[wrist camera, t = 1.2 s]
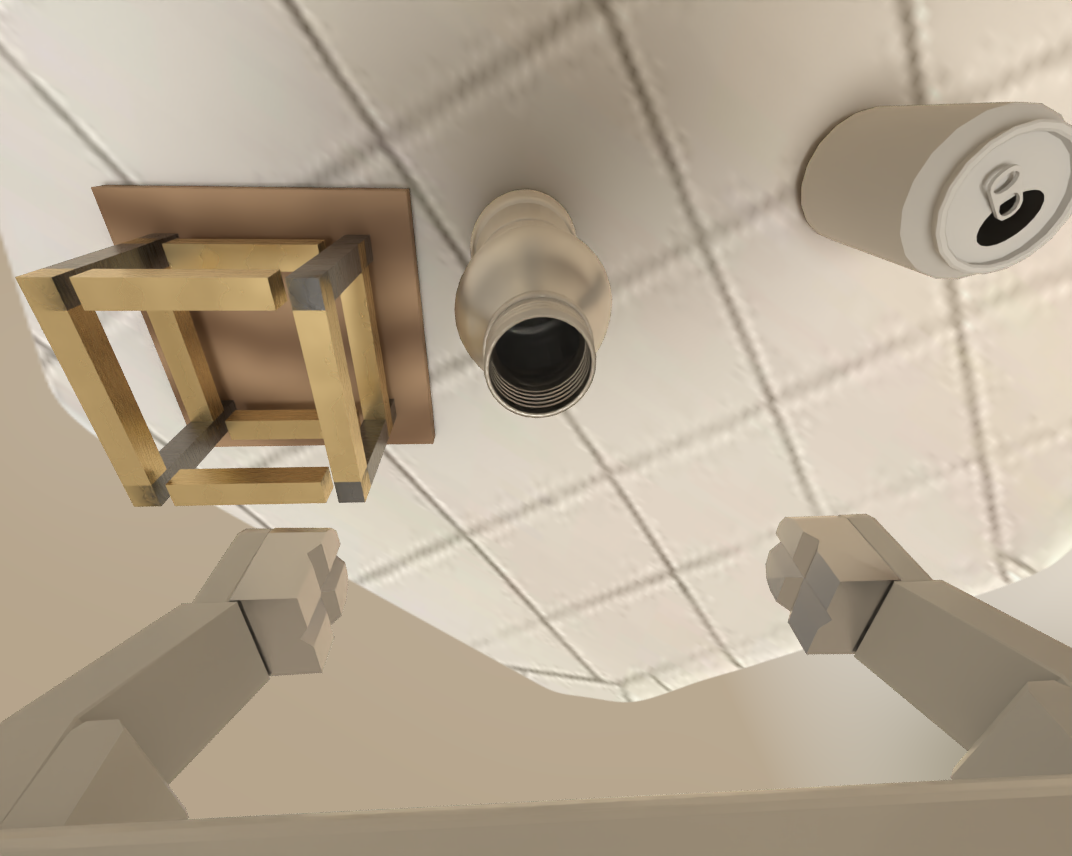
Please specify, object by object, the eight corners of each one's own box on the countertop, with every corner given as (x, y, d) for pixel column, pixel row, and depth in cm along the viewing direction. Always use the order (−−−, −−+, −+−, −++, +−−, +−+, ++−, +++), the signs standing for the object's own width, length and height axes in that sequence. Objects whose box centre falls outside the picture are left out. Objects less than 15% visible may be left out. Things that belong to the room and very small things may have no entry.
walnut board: (105, 185, 30) (90, 187, 29) (409, 188, 31) (406, 190, 30) (203, 438, 40) (195, 446, 38) (435, 435, 40) (433, 443, 39)
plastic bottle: (457, 265, 34) (406, 416, 17) (499, 163, 31) (489, 218, 14) (543, 306, 35) (576, 480, 18) (590, 213, 32) (684, 318, 15)
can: (825, 261, 35) (957, 321, 25) (772, 172, 32) (899, 198, 21) (932, 179, 32) (1129, 207, 22) (887, 74, 29) (1092, 50, 19)
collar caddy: (152, 233, 31) (14, 277, 22) (369, 234, 31) (318, 277, 23) (219, 418, 37) (134, 506, 29) (396, 416, 38) (365, 502, 29)
